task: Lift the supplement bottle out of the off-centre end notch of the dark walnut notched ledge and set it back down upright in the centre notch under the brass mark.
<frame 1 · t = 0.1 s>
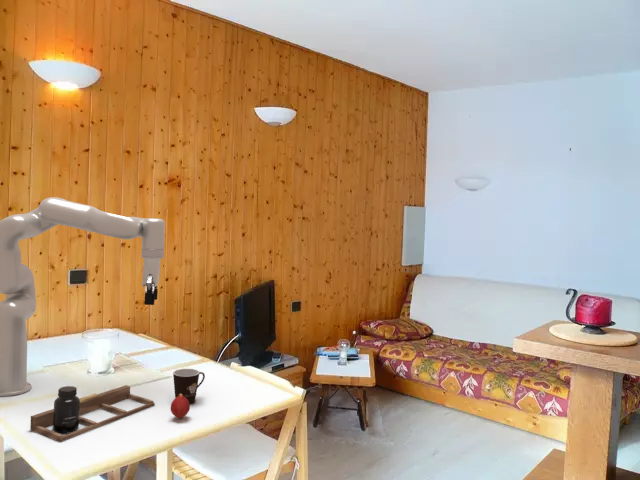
hand: (151, 302, 192), 31 cm above the table, tool pointing down, fingers open, 9 cm apart
supplement bottle: (66, 430, 157), resting in notched ledge
onion: (179, 419, 169), on the table
notched ledge: (98, 417, 167), on the table
coffee mug: (189, 401, 185), on the table
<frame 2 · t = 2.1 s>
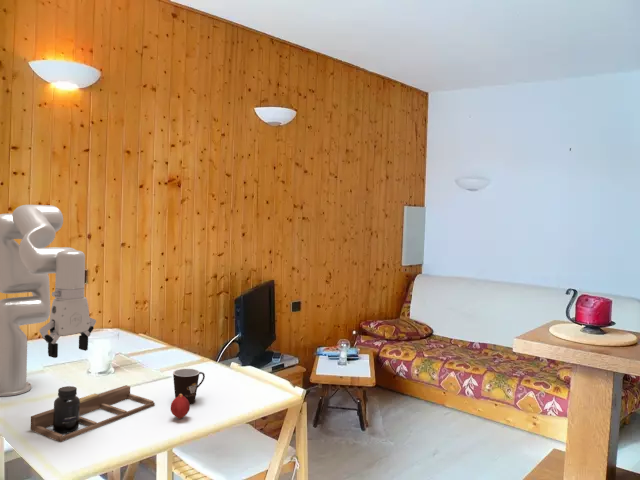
hand: (68, 353, 156), 22 cm above the table, tool pointing down, fingers open, 9 cm apart
nothing on the table moved.
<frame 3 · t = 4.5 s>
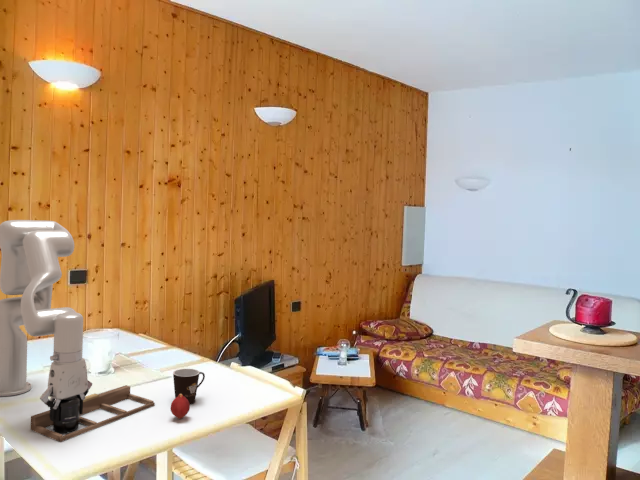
hand: (66, 416, 157), 4 cm above the table, tool pointing down, fingers closed on supplement bottle, 6 cm apart
supplement bottle: (66, 430, 157), resting in notched ledge, touching gripper
everything else where it was.
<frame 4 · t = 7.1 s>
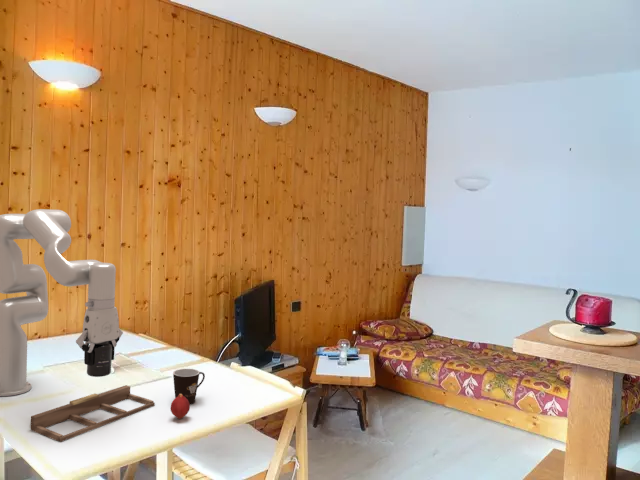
hand: (99, 361, 166), 17 cm above the table, tool pointing down, fingers closed on supplement bottle, 6 cm apart
supplement bottle: (99, 374, 166), point 13 cm above the table, touching gripper
everything else where it was.
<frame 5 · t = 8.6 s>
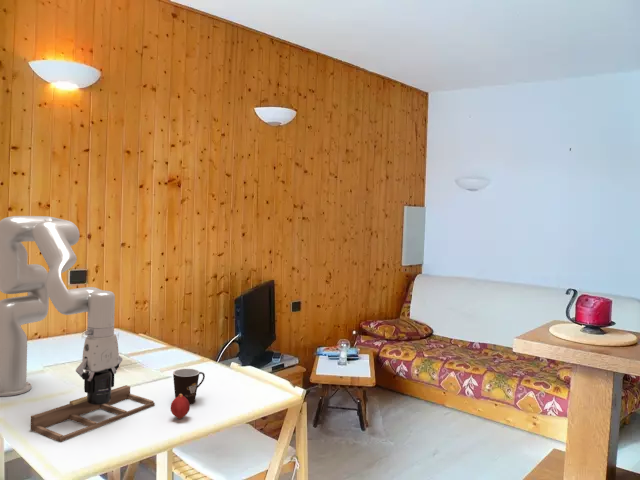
hand: (99, 389, 166), 9 cm above the table, tool pointing down, fingers closed on supplement bottle, 6 cm apart
supplement bottle: (99, 401, 167), point 5 cm above the table, touching gripper
everything else where it was.
when the fingers open (5 cm above the table, at t = 9.9 s): supplement bottle drops 1 cm, resting in notched ledge.
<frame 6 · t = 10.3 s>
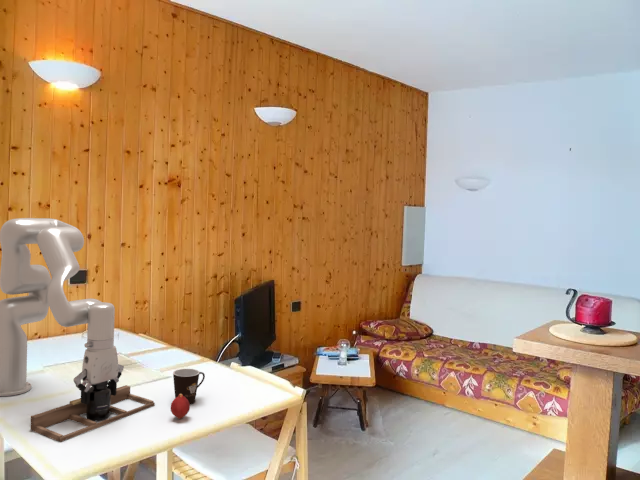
hand: (98, 398, 167), 6 cm above the table, tool pointing down, fingers open, 9 cm apart
supplement bottle: (98, 418, 167), resting in notched ledge
everything else where it was.
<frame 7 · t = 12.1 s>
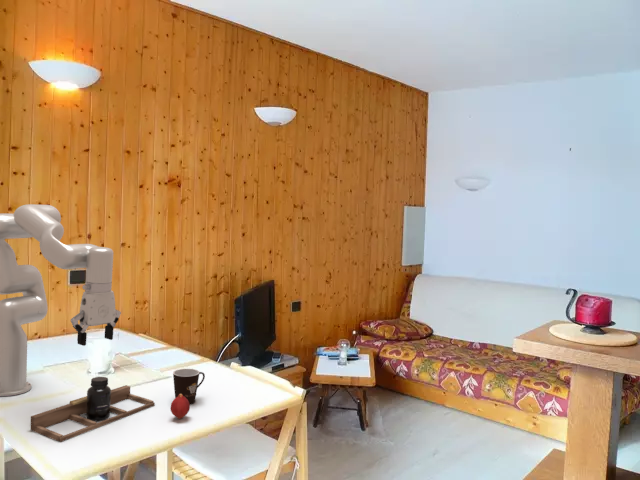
hand: (95, 341, 170), 22 cm above the table, tool pointing down, fingers open, 9 cm apart
nothing on the table moved.
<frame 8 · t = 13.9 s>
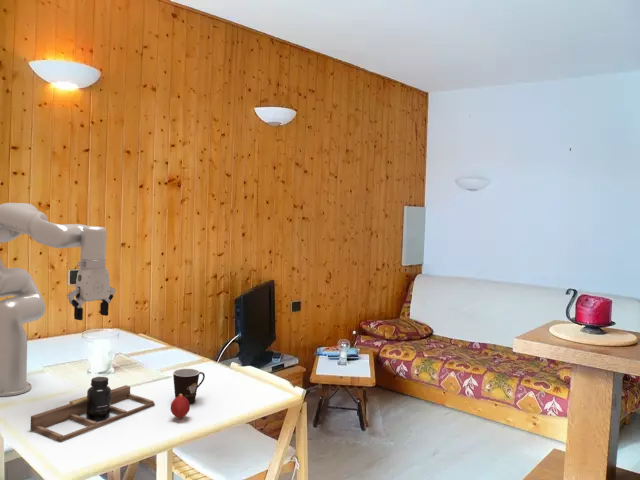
hand: (91, 317, 176), 28 cm above the table, tool pointing down, fingers open, 9 cm apart
nothing on the table moved.
at the end: supplement bottle 0.2 cm off-centre on the notched ledge, point 0.0 cm above the notched ledge's base; supplement bottle tilted 0°; the gripper is holding nothing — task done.
